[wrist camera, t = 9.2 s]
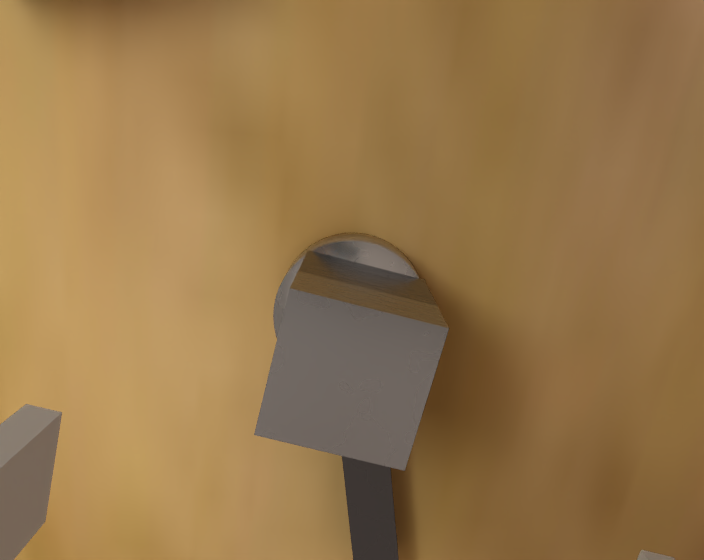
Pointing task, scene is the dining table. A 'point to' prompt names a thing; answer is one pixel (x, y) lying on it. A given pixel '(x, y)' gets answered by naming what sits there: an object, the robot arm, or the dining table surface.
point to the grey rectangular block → (353, 361)
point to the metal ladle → (360, 477)
